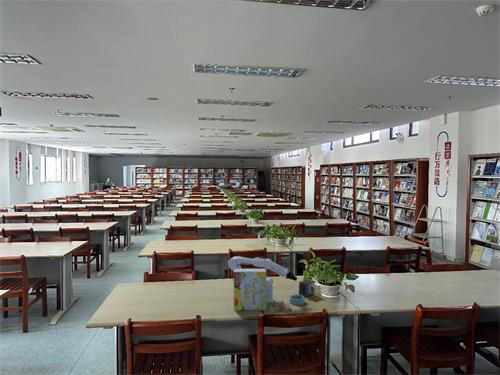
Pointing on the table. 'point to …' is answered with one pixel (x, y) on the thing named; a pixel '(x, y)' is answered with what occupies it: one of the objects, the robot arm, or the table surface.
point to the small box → (306, 288)
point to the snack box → (249, 289)
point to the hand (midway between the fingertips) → (296, 279)
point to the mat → (282, 311)
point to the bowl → (296, 299)
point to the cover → (281, 307)
